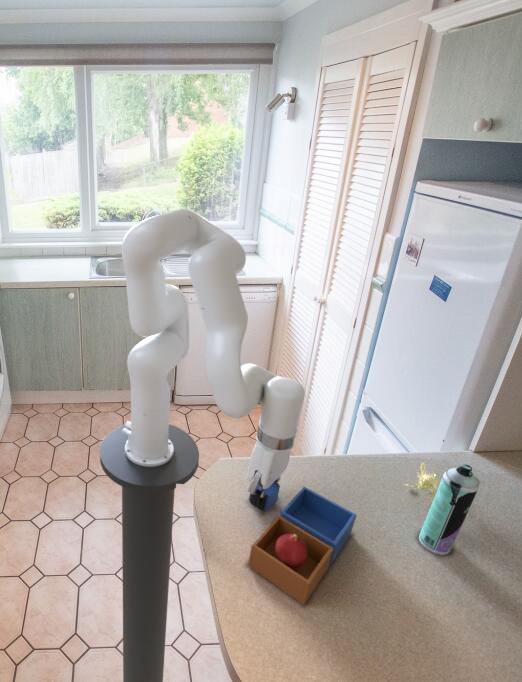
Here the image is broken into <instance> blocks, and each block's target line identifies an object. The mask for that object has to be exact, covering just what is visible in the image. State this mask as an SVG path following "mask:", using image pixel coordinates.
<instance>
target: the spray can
mask: <svg viewBox="0 0 522 682" xmlns="http://www.w3.org/2000/svg"><path fill="white" fill-rule="evenodd" d="M441 479H442V480H440V482H441V483H440V485H439V488H438V490H437V489H436V490H437V492H436V493H435V495H434V500H433V502H432V501H431V503H432V504H431V506H430V508H429V510H428V512H427V515H426V518H425V520H424V522H423V525H422V528H421V530H420V532H419V536H418V539H419V542H420V544H421V545H422V547H424V548H425V549H426V550H428V552H431V553H434V554H436V555H440V556H443V555H444V556H445V555H449V553H450V552H451V550H452V548H453V546H454V544H455V541H456V539H457V537H458V535H459V532H460V531H461V529H462V527H463V524H464V521H465V519H466V517H467V515H468V513H469V510H470V508H471V506H472V504H473V502H474V501H475V498H476V495H477V493H478V491H479V488H480V485H481V482H480V479H479V478H478V476H477V475H475V474H474V473H473V468H472V466H471V465H469V464H461V465H460V466H458V467H455V466H452V467H448V468H446V470H445V472H444V473H443V475H442V477H441Z"/></svg>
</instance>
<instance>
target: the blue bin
mask: <svg viewBox="0 0 522 682" xmlns="http://www.w3.org/2000/svg"><path fill="white" fill-rule="evenodd" d="M279 516H281V517H282V518H284V519H286V520H287V521H289V522H291V523H292V524H294V525H296V526H297V527H299V528H301V529H302V530H304V531H306V532H307V533H309V534H311V535H312V536H314V537H316V538H317V539H319V540H321V541H322V542H324V543H326V544H327V545H329V546H330V547H332V548H334V549H333V553H332V556H331V560H330V563H329V566H331V565H332V563H333V562H334V560H335V559H336V557H337V556H338V555H339V552H340V551H341V550H342V549H343V547H344V545H345V544H346V542H347V541H348V539H349V538H350V536H351V535H352V531H353V528H354V524H355V521H356V518H357V514H356V513H354V512H353V511H351V510H349V509H347V508H346V507H343V506H341V505H340V504H337V503H335V502H334V501H332V500H330V499H328V498H326V497H324V496H322V495H321V494H319V493H317V492H316V491H313V490H311V488H310V489H309V488H308V487H306V486H303V487H302V488H301V489H300V490H298V492H297V493H296V494H295V495H294V497H293V498H291V500H290V501H289V502H288V504H286V506H285V507H284V508H283V509H282V510H281V511H280V515H279Z"/></svg>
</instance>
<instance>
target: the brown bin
mask: <svg viewBox="0 0 522 682" xmlns="http://www.w3.org/2000/svg"><path fill="white" fill-rule="evenodd" d="M286 533H294V534H297V535H298V536H299V537H301V538H302V539H303V541H304V542H305V544H306V546H307V551H308V555H307V560H306V562H305V563H304V564H303V565H301V566H299V567H296V568H291V567H288V566H286V565H285V564H283V563H282V562H280V561H279V560H278V558H277V556H276V553H275V545H276V541H277V539H278V538H279V537H280V536H282V535H284V534H286ZM333 549H334V548H332V547H330V546H329V545H327V544H326V543H324V542H322V541H321V540H319V539H317V538H316V537H314V536H312V535H311V534H309V533H307V532H306V531H304V530H302V529H301V528H299V527H297V526H296V525H294V524H292V523H291V522H289V521H287V520H286V519H284V518H282V517H281V516H280V515H279V514H278V515H277V516H276V517H275V518H274V519H273V521H271V523H270V524H269V525H268V526H267V527H266V528H265V529H264V531H263V532H262V533H261V534H260V535H259V536H258V538H257V539H256V540H255V541H254V542H253V543H252V545H251V547H250V552H249V553H250V555H249V558H248V559H249V560H248V565H247V566H248V567H250V568H251V569H253V570H254V571H255V572H257V573H258V574H260V575H261V576H262V577H264V578H265V579H266V580H268V581H269V582H271V583H272V584H273V585H274V586H276V587H278V588H279V589H281V590H282V591H283V592H284V593H286V594H287V595H289V596H290V597H291V598H293V599H295V600H296V601H297V602H299V603H300V604H302V606H304V605H305V604H306V603H307V601H308V600H309V598H310V597H311V595H312V593H313V592H314V591H315V589H316V587H317V586H318V584H319V583H320V582H321V580H322V578H323V577H324V575H325V574H326V573H327V571H328V570H329V567H330V565H329V563H330V560H331V556H332V553H333Z"/></svg>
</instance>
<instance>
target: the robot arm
mask: <svg viewBox="0 0 522 682" xmlns="http://www.w3.org/2000/svg"><path fill="white" fill-rule="evenodd" d="M183 251H184V252H186V253H187V254H189V255H190V257H189V259H188V261H187V270H188V274H189V279H190V282H191V284H192V288H193V291H194V294H195V297H196V300H197V304H198V307H199V309H200V310H199V311H200V313H201V315H202V319H203V323H204V327H205V343H204V346H205V347H204V362H205V363H204V365H205V374H206V379H207V382H208V385H209V388H210V392H211V395H212V397H213V400H214V402H215V404H216V406H217V408H218V409H219V410H220V412H222V414H224V415H225V416H226V417H229V418H231V419H243V418H245V417H247V416H249V415H250V414H251V413H252V412H253V410H255V408H256V407H257V405H258V404H260V405H261V407H260V413H259V421H258V425H257V430H256V436H255V437H256V442H255V444H254V447H253V450H252V452H251V455H250V459H249V463H248V466H247V467H248V468H247V472H246V480H247V481H248V482H251V483H250V485H249V487H248V489H247V492H248V493H249V494H250V493H251V499H250V501H249V503H250V504H251V505H252V506H254V507H256V508H257V509H259V510H260V511H264V506H265V502H266V497H267V496H265V494H266V490H267V488H268V487H270V486H271V485H272V484H273V483H274V482H275V483H276V484H278V485H280V484H279V482H280V481H281V476H282V475H283V474H284V472H285V471H286V470H287V467H288V465H289V461H290V456H291V452H292V451H291V450H292V449H293V448H294V446H295V442H296V438H297V433H298V428H299V424H300V419H301V415H302V410H303V406H304V402H305V396H306V390H305V388H304V386H303V385H302V384H301V383H300V382H298V381H297V380H295V379H293V378H291V377H285V376H280V375H277V374H276V373H273V372H272V371H270V370H268V369H266V368H264V367H262V366H260V365H258V364H254V363H244V364H241V353H242V346H243V345H242V344H243V342H244V338H245V335H246V332H247V328H248V323H249V322H248V321H249V315H248V311H247V308H246V306H245V301H244V298H243V294H242V291H241V288H240V283H239V280H238V277H237V275H239V274H240V273H241V272H242V271H243V269H244V268H245V265H246V262H247V255H246V251H245V249H244V248H243V246H242V245H241V243H240V242H239V241H238V240H237V239H235V238H234V237H233V236H232V235H231V234H230V233H228V232H226V231H225V230H223V229H222V228H221V227H218V226H217V225H216V224H214V223H212V222H211V221H210V220H209V219H206V218H205V217H204V216H202V215H200V214H199V213H198V212H195V211H193V210H191V209H187V208H178V209H174V210H170V211H168V212H164V213H160V214H157V215H154V216H151V217H148V218H145V219H144V220H142V221H140V222H137V224H135V225H133V226H132V227H131V228H130V229H129V230H128V231H127V233H125V236H124V238H123V241H122V243H121V257H122V263H123V269H124V274H125V283H126V296H127V297H126V298H127V307H128V317H129V324H130V327H131V329H132V331H133V332H134V334H136V335H137V336H139V337H142V338H144V339H142V340H141V341H139V342H138V343H137V344H136V345H134V346H133V348H132V349H130V351H129V354H128V355H127V359H126V367H127V372H128V376H129V382H130V383H129V384H130V421H129V420H127V421H126V422H125V424H124V425H125V427H126V428H127V429H129V430H131V431H129V430H127V429H126V428H124V429H123V430H122V433H124V434H126V435H128V441H127V442H126V444H125V453H126V456H127V457H128V459H129V460H131V461H132V462H133V463H135V464H138V465H141V466H146V467H155V466H160V465H163V464H165V463H167V462H168V461H169V460H170V459H171V458H172V456H173V453H174V447H173V444H172V442H171V441H170V440H169V439H168V435H169V424H170V415H171V412H170V411H171V387H170V385H169V383H168V375H169V374H170V372H171V371H172V370H174V368H176V367H177V366H179V364H180V363H182V362H183V360H184V359H185V358H186V357H187V356H188V353H189V350H190V321H189V305H188V301H187V298H186V296H185V294H184V292H183V290H181V289H180V288H179V287H178V286H176V285H173V284H171V283H166V273H165V269H164V268H163V267H164V266H163V265H162V263H161V262H160V261H162V260H163V259H166V258H169V257H171V256H173V255H176V254H179V253H181V252H183ZM259 485H260V486H262V488H263V489H262V491H261V490H259V489H257V488H258V486H259Z"/></svg>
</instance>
